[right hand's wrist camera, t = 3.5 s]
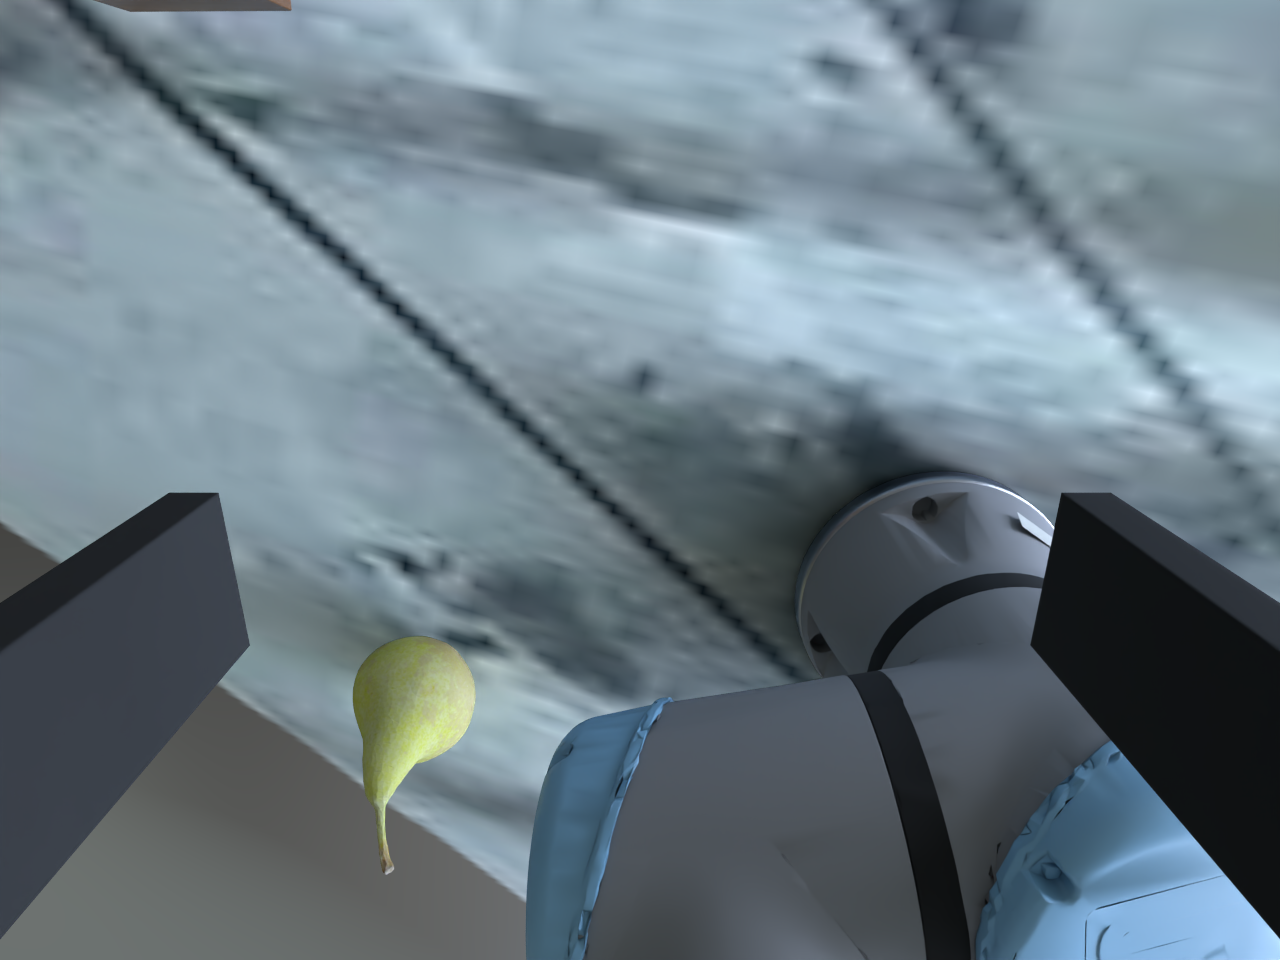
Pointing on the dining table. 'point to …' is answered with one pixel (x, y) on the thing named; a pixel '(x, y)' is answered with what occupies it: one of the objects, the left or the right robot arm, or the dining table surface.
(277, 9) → the bar
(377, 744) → the fruit
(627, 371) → the dining table surface
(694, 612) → the dining table surface
